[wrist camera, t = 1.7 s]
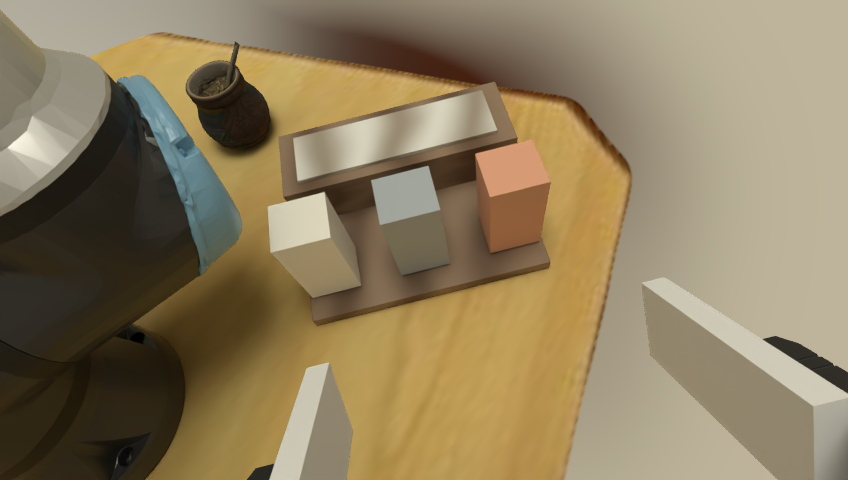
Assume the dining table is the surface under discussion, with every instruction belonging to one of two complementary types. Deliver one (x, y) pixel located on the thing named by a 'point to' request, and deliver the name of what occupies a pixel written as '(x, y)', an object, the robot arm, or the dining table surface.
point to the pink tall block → (511, 195)
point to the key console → (395, 153)
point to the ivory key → (313, 245)
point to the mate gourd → (228, 104)
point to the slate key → (411, 220)
